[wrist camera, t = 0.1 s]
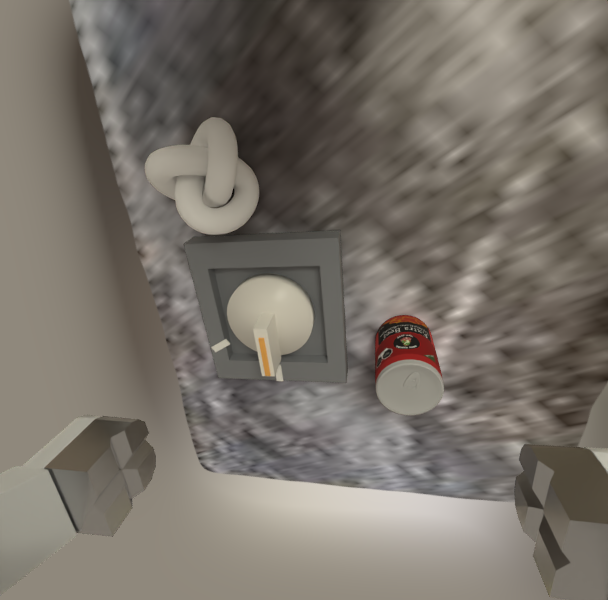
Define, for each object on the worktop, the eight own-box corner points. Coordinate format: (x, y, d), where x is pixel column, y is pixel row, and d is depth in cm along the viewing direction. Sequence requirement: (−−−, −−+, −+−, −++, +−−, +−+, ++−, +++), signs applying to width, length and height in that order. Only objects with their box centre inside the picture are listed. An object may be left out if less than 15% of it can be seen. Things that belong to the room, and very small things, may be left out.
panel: (193, 236, 49) (182, 244, 46) (340, 230, 45) (338, 238, 42) (225, 366, 59) (218, 378, 56) (347, 369, 55) (346, 383, 53)
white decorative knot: (186, 222, 48) (149, 244, 41) (160, 123, 43) (113, 127, 35) (266, 217, 46) (245, 240, 38) (251, 113, 41) (222, 114, 33)
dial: (224, 274, 49) (206, 294, 44) (310, 272, 47) (302, 293, 42) (240, 349, 55) (226, 375, 50) (318, 350, 53) (312, 378, 47)
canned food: (432, 312, 48) (446, 363, 39) (430, 360, 52) (442, 417, 42) (374, 313, 50) (374, 362, 40) (376, 360, 54) (376, 415, 44)
